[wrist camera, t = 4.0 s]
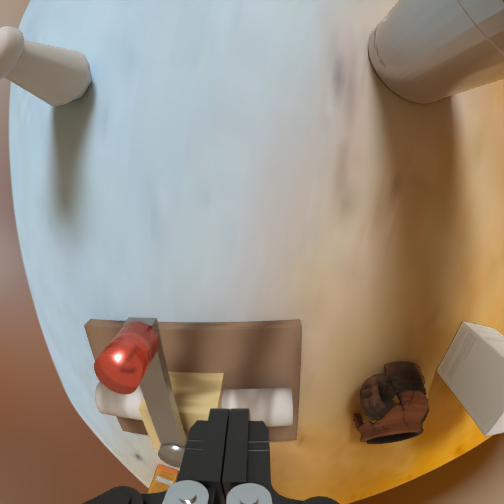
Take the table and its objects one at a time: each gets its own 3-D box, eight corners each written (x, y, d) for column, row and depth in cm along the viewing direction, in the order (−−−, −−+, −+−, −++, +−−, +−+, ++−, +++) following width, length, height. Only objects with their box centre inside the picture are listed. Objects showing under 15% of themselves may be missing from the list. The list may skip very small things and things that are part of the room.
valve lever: (198, 456, 22) (189, 501, 17) (166, 453, 22) (153, 496, 17) (164, 312, 18) (134, 357, 13) (122, 311, 18) (85, 352, 13)
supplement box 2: (434, 371, 29) (482, 438, 17) (462, 318, 28) (526, 376, 15) (468, 375, 30) (515, 431, 17) (494, 327, 28) (552, 376, 16)
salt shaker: (109, 67, 22) (27, 18, 10) (79, 117, 23) (-16, 96, 11) (74, 52, 22) (-5, 11, 9) (47, 98, 23) (-41, 77, 10)
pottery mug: (434, 370, 30) (441, 431, 24) (373, 393, 36) (374, 448, 30) (393, 340, 25) (402, 421, 20) (319, 370, 31) (317, 439, 25)
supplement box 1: (157, 462, 34) (140, 513, 25) (178, 470, 35) (165, 521, 25) (153, 471, 35) (137, 518, 25) (174, 478, 35) (161, 527, 26)
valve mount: (299, 319, 28) (313, 374, 19) (295, 431, 32) (301, 486, 23) (90, 319, 28) (47, 360, 20) (126, 423, 32) (104, 469, 24)
